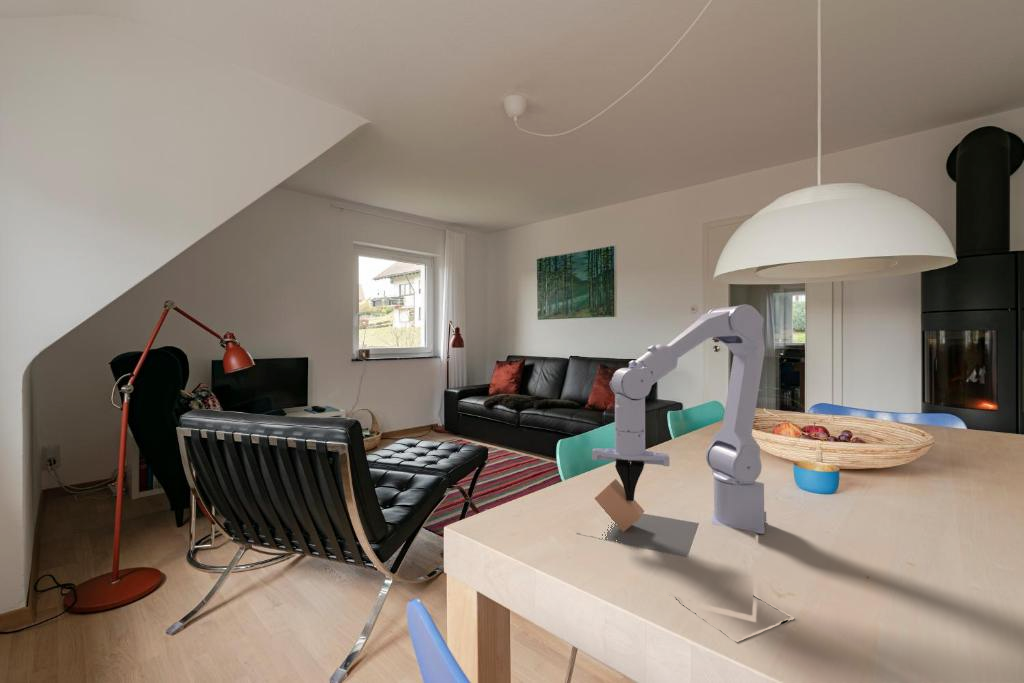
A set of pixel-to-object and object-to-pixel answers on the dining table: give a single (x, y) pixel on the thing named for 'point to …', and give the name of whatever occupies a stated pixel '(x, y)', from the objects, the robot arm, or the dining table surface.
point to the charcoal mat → (656, 534)
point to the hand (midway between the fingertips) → (630, 499)
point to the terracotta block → (619, 505)
